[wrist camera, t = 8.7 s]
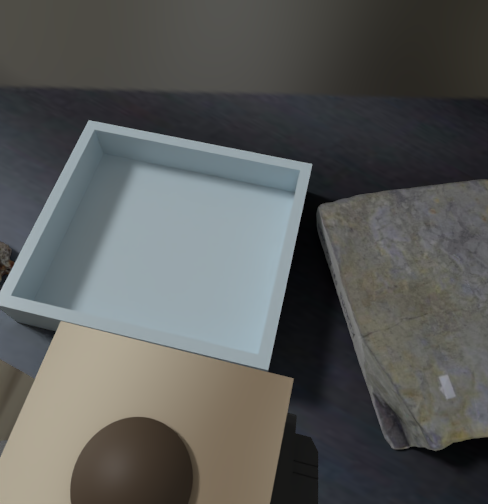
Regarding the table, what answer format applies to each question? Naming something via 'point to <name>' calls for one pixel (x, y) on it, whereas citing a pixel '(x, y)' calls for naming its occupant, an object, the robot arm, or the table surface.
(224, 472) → the block
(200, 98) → the table surface
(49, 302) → the tray
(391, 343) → the fossil
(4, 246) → the mineral rock
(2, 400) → the block
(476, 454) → the table surface
